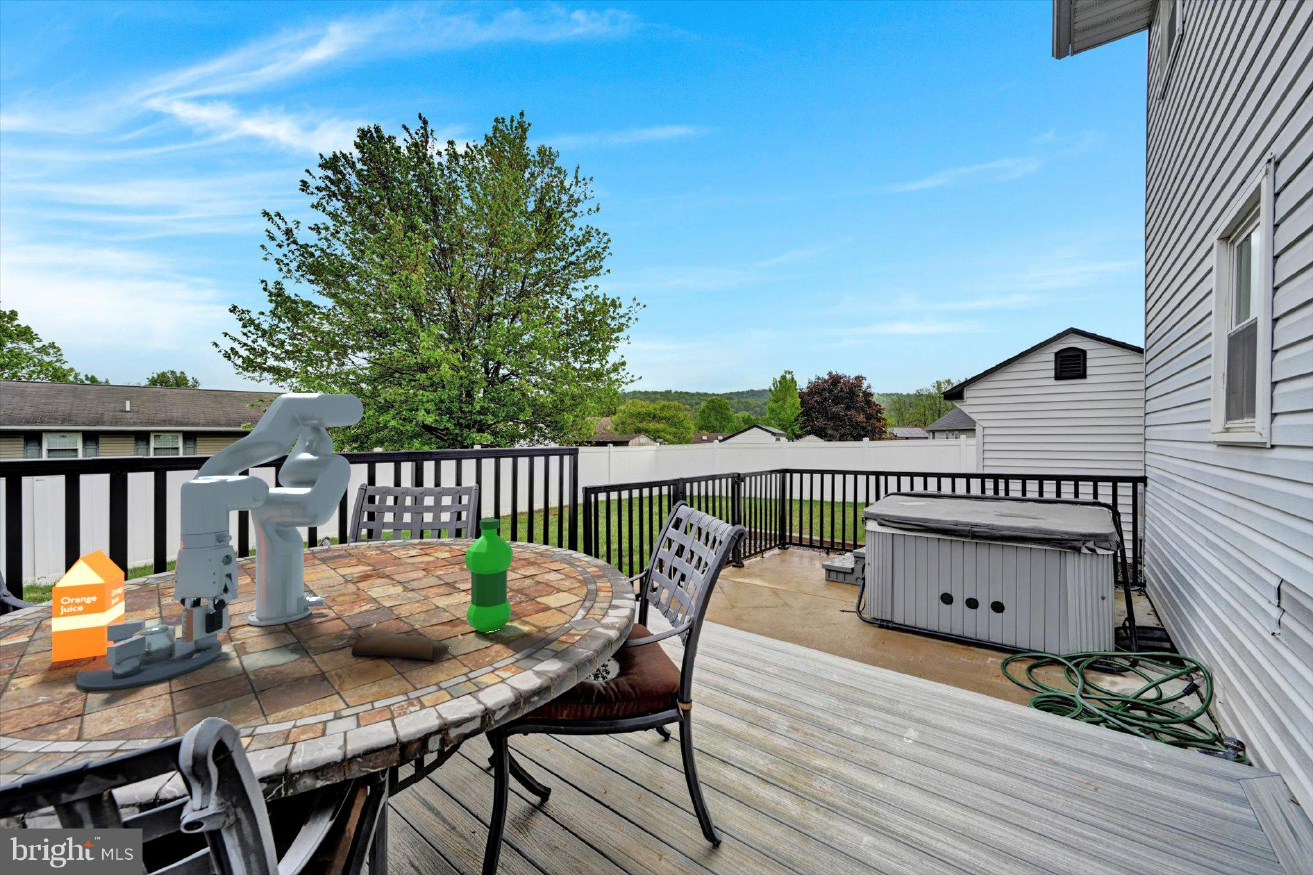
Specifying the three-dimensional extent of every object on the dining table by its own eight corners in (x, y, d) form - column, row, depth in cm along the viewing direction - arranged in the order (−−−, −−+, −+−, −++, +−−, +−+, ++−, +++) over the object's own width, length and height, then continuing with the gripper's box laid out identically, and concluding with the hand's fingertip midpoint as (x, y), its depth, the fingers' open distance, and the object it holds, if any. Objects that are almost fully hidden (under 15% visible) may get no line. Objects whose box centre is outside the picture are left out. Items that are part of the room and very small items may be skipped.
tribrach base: (234, 638, 114) (234, 604, 114) (202, 676, 96) (202, 635, 95) (110, 654, 105) (110, 617, 105) (49, 700, 87) (49, 655, 87)
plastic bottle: (498, 618, 127) (498, 515, 127) (520, 629, 119) (520, 520, 119) (458, 628, 120) (458, 520, 120) (479, 641, 112) (479, 525, 112)
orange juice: (51, 662, 101) (51, 560, 101) (75, 646, 109) (75, 551, 109) (106, 654, 105) (106, 555, 105) (125, 639, 113) (125, 547, 113)
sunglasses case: (456, 645, 110) (447, 624, 106) (440, 675, 104) (430, 653, 100) (378, 640, 112) (367, 619, 109) (358, 669, 106) (346, 648, 103)
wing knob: (221, 637, 109) (221, 599, 109) (230, 640, 108) (230, 602, 108) (179, 650, 103) (179, 609, 103) (188, 653, 102) (189, 612, 102)
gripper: (258, 537, 109) (258, 625, 109) (186, 536, 110) (186, 622, 110) (225, 544, 101) (225, 639, 101) (149, 543, 102) (148, 636, 102)
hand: (205, 629), depth 105 cm, fingers closed on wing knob, 3 cm apart
